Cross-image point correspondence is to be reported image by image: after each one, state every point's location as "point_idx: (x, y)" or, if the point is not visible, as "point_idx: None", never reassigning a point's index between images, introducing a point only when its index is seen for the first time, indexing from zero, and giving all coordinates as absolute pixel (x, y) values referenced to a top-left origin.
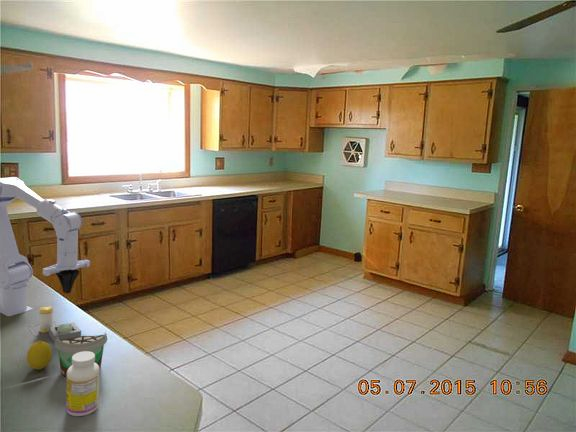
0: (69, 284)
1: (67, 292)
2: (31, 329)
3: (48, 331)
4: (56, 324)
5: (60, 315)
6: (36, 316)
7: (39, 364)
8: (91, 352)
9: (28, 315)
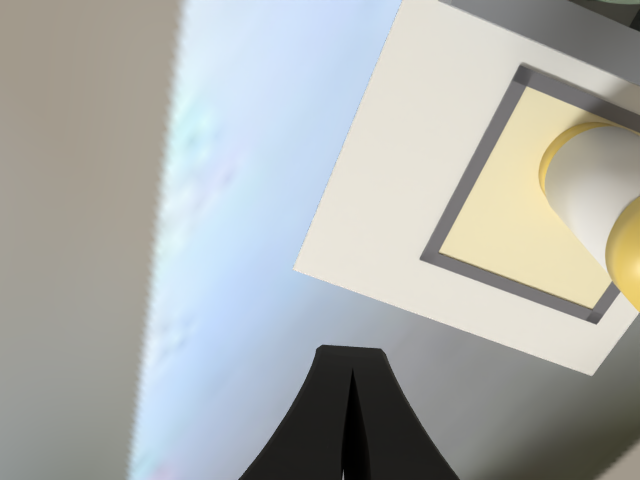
0: (367, 439)
1: (381, 353)
2: None
3: (608, 124)
4: (455, 203)
5: (303, 330)
6: None
7: None
8: None
9: None
